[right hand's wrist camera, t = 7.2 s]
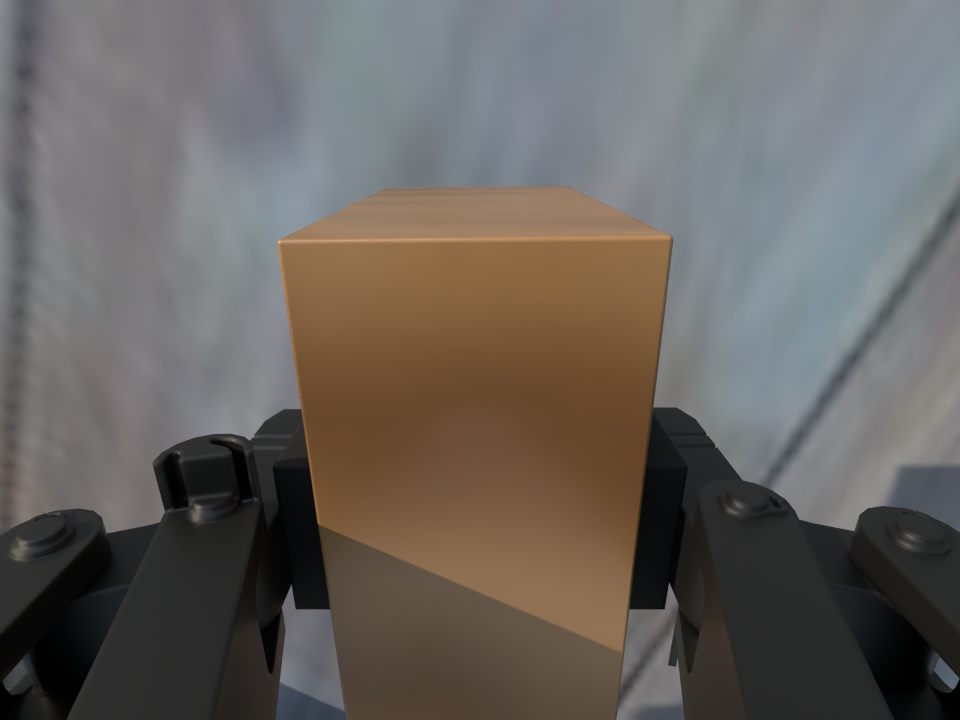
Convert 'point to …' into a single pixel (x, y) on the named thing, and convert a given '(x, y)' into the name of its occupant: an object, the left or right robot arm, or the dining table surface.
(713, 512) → the right robot arm
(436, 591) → the post
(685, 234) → the dining table surface
